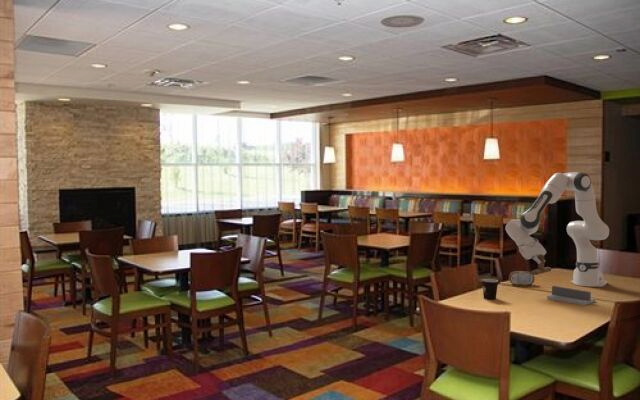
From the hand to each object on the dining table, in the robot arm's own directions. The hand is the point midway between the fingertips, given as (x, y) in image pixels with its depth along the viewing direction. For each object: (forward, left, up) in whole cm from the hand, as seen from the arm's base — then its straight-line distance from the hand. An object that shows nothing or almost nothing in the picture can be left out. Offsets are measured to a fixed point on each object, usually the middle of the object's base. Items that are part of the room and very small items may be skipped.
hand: (542, 262), depth 302 cm
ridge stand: (+2, +17, -18) cm, 25 cm away
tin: (-15, -21, -18) cm, 31 cm away
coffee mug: (+30, -15, -18) cm, 38 cm away
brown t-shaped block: (0, -1, -6) cm, 6 cm away
